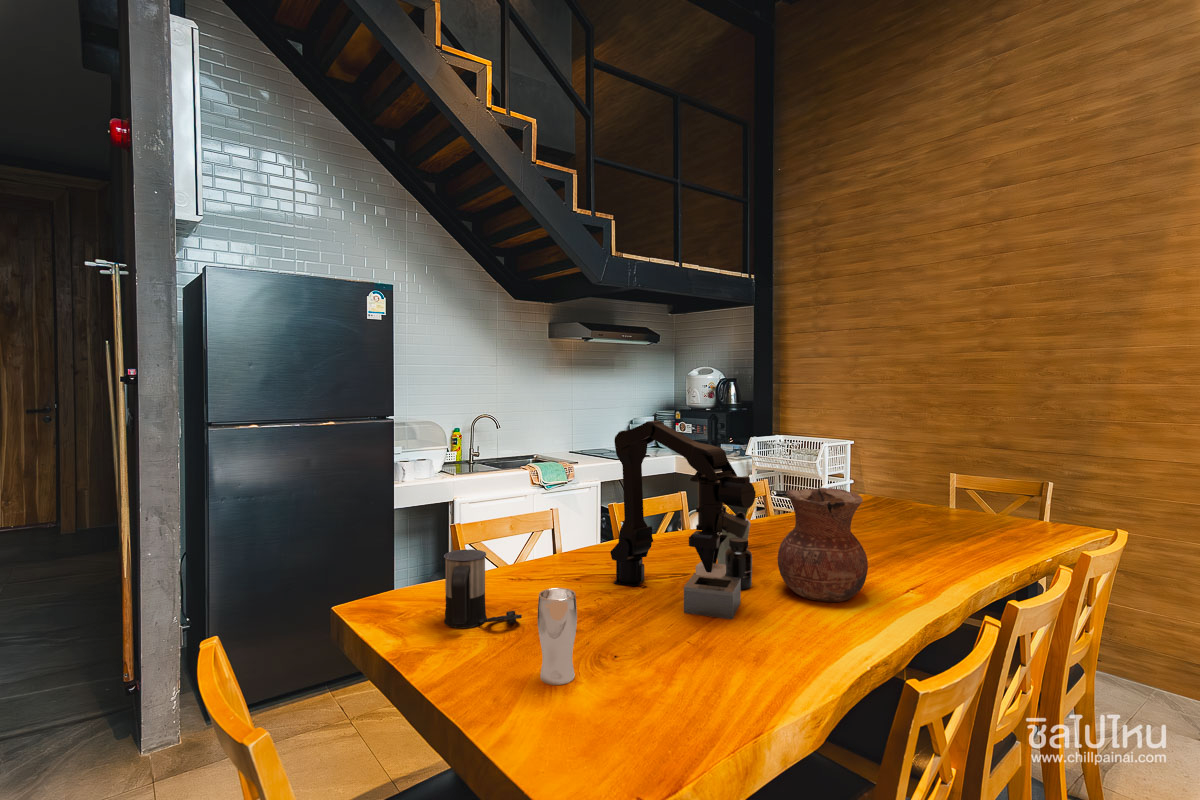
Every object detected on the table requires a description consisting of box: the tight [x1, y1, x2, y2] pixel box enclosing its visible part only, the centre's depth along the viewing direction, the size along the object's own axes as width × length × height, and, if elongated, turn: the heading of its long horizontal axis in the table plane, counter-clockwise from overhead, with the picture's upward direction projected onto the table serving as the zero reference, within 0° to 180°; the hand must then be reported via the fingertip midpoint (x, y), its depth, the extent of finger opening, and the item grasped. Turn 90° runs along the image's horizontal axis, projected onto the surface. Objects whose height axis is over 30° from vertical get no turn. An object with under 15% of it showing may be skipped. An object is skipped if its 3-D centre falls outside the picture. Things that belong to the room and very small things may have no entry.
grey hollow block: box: [683, 572, 742, 620], centre depth 147 cm, size 11×11×6 cm
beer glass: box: [537, 587, 578, 686], centre depth 113 cm, size 7×7×15 cm
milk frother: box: [443, 548, 523, 629], centre depth 138 cm, size 14×16×15 cm
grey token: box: [695, 561, 726, 578], centre depth 147 cm, size 6×4×2 cm, turn 64°
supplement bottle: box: [724, 538, 753, 591], centre depth 163 cm, size 7×7×12 cm
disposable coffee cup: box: [717, 514, 751, 565], centre depth 176 cm, size 11×11×15 cm
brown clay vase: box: [776, 487, 869, 603], centre depth 157 cm, size 22×21×25 cm
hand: (710, 569), depth 147 cm, fingers closed on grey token, 4 cm apart
